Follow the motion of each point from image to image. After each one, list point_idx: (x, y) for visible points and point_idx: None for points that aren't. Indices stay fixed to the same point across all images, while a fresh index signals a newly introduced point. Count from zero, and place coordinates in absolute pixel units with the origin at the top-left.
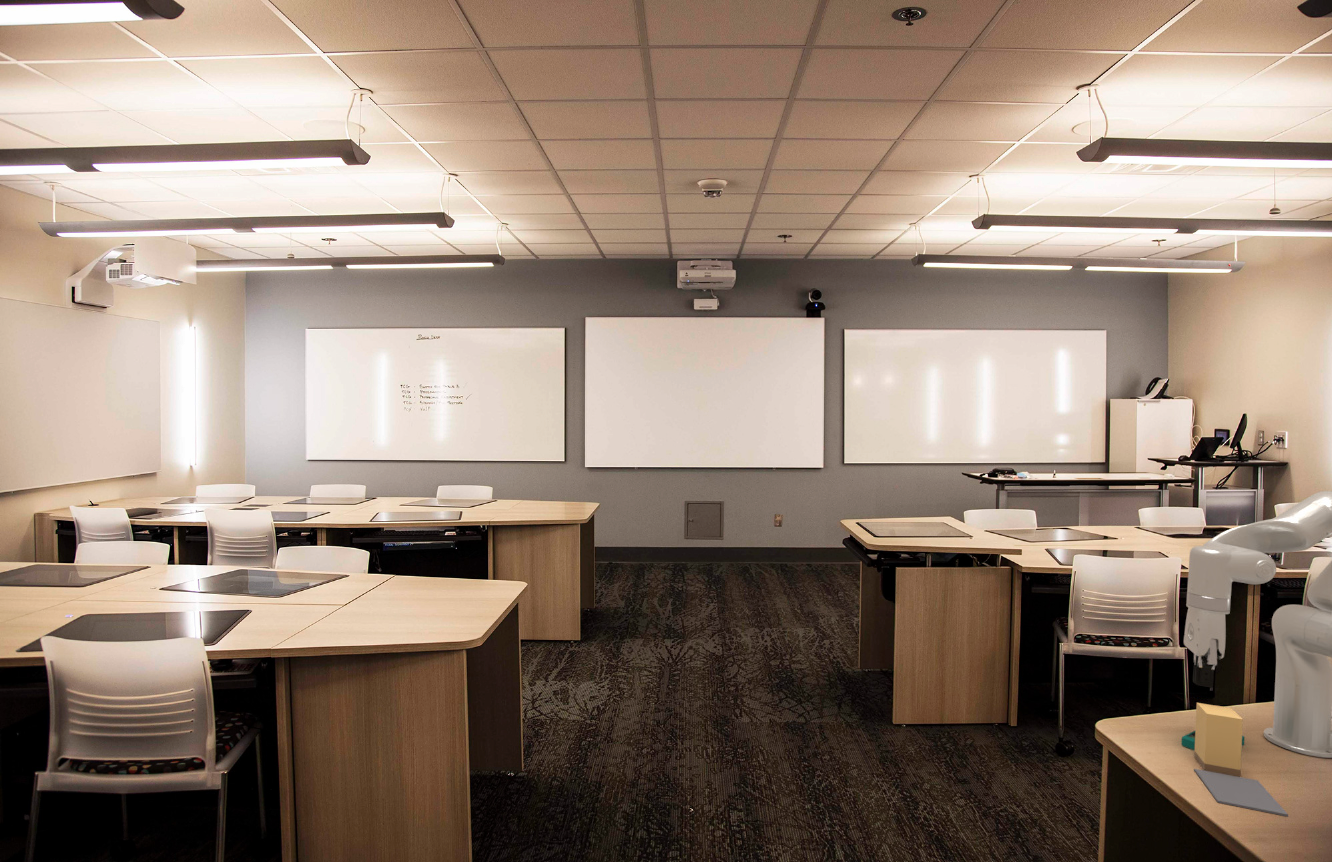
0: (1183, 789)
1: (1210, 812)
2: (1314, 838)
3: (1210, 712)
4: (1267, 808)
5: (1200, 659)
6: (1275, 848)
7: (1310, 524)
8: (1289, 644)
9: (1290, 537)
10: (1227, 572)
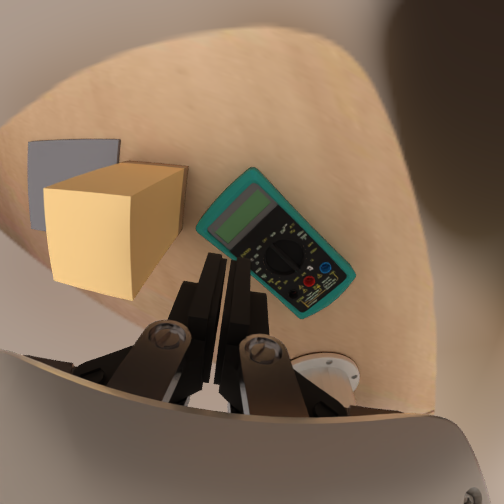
0: (50, 100)
1: (10, 124)
2: (6, 229)
3: (57, 205)
4: (33, 207)
5: (117, 373)
6: None
7: None
8: None
9: None
10: None
